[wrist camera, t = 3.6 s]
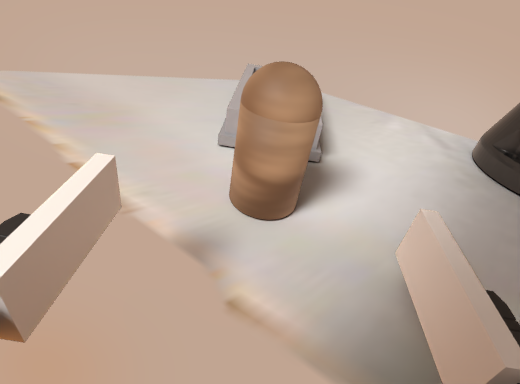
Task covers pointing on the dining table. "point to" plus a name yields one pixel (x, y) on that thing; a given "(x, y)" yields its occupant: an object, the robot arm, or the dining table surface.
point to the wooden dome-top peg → (274, 139)
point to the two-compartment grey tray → (231, 121)
